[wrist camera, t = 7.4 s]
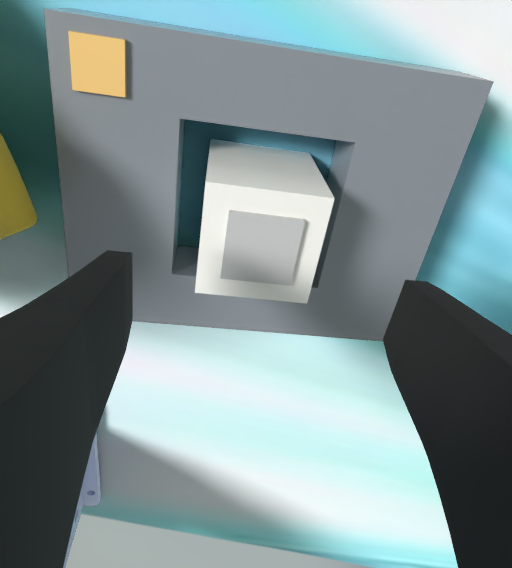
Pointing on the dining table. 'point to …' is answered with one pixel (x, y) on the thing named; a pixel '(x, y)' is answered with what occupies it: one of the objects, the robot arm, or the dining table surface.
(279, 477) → the dining table surface
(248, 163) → the plug block
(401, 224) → the socket plate
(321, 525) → the dining table surface
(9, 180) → the plant pot
